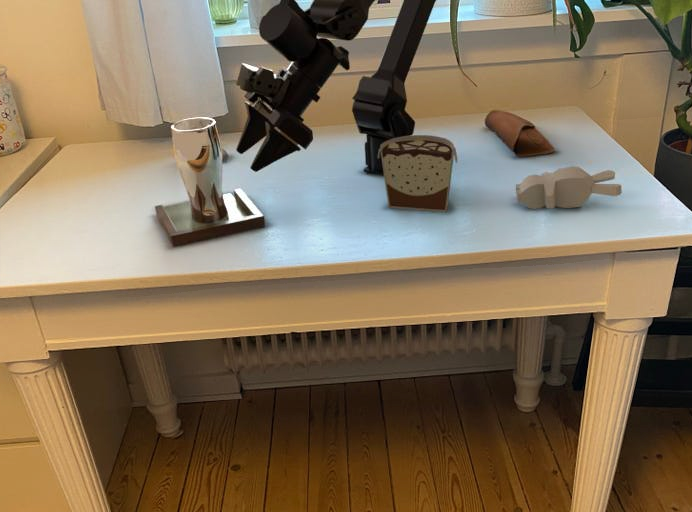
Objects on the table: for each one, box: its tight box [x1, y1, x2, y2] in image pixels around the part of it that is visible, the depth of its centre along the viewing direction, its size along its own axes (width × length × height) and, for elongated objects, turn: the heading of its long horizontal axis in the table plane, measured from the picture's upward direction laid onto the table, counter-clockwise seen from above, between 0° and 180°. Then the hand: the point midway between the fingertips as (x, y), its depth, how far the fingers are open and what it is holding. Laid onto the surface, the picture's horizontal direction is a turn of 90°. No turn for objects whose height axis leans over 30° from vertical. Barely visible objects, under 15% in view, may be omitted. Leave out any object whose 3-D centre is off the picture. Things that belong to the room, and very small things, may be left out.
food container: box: [378, 134, 458, 213], centre depth 117 cm, size 12×6×10 cm, turn 71°
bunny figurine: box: [515, 166, 623, 210], centre depth 115 cm, size 10×5×15 cm
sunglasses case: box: [484, 109, 556, 158], centre depth 141 cm, size 18×7×7 cm
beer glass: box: [170, 117, 229, 226], centre depth 115 cm, size 7×7×15 cm
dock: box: [154, 188, 266, 248], centre depth 120 cm, size 16×14×2 cm
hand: (245, 160), depth 117 cm, fingers open, 9 cm apart
